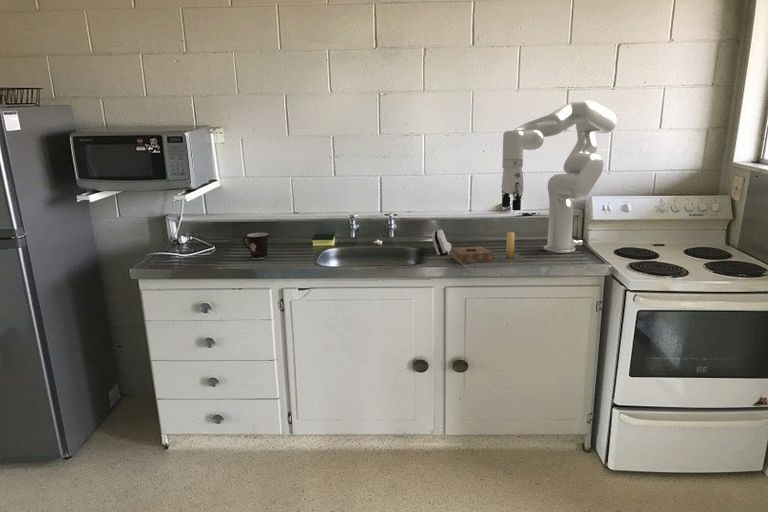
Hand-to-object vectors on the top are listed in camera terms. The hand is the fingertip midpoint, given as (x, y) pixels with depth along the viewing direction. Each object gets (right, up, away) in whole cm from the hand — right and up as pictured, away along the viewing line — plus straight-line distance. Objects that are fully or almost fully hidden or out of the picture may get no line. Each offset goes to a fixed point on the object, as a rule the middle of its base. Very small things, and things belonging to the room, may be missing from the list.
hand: (511, 208), depth 219 cm
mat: (+1, -20, +5) cm, 20 cm away
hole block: (-15, -20, +5) cm, 25 cm away
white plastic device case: (-25, -16, +23) cm, 37 cm away
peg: (+1, -19, +5) cm, 20 cm away
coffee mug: (-102, -19, +19) cm, 106 cm away
